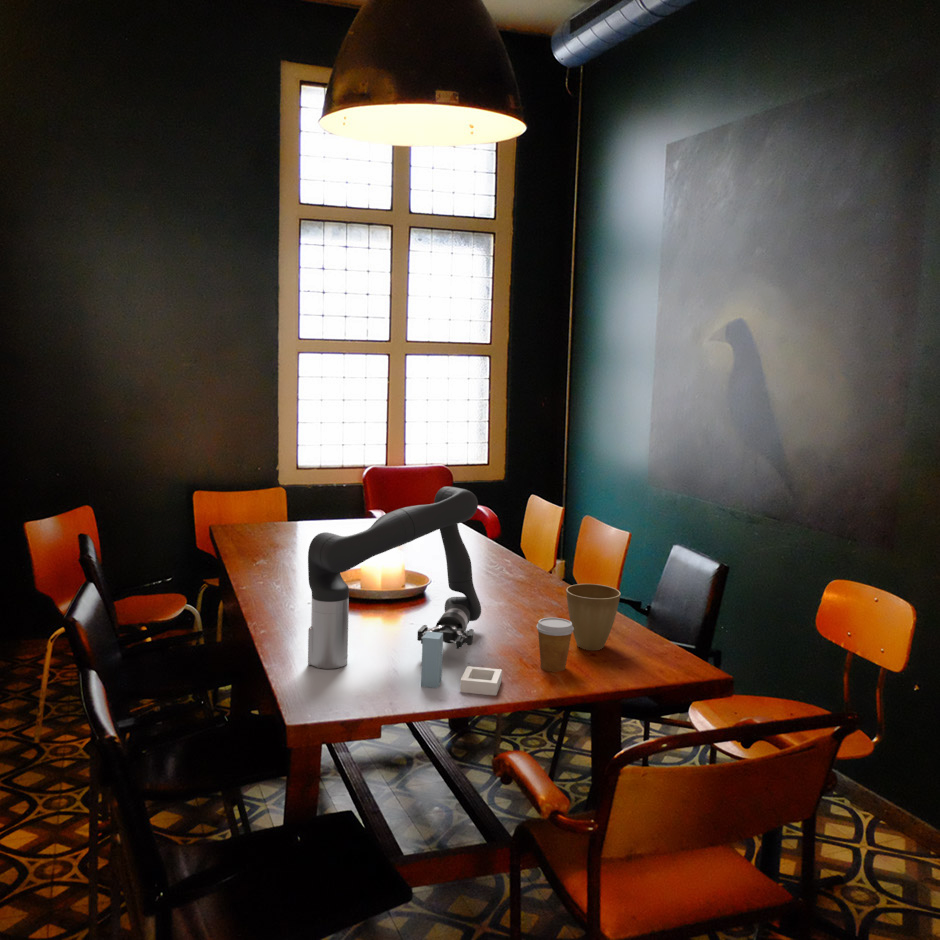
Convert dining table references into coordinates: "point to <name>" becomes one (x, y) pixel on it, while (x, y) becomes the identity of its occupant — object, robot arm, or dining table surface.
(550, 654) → the disposable coffee cup
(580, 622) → the plant pot
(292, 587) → the dining table surface
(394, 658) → the dining table surface
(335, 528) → the dining table surface
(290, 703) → the dining table surface
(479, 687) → the end cap
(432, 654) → the blue-grey rectangular block
